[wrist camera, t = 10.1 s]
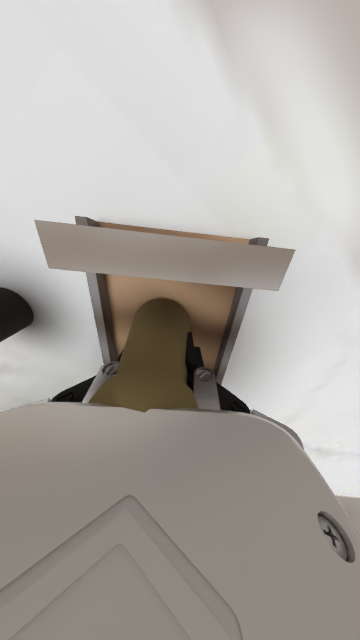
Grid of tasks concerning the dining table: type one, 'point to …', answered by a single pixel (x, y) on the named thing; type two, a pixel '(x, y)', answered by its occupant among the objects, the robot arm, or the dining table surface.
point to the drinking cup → (13, 313)
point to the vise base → (177, 291)
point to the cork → (152, 362)
